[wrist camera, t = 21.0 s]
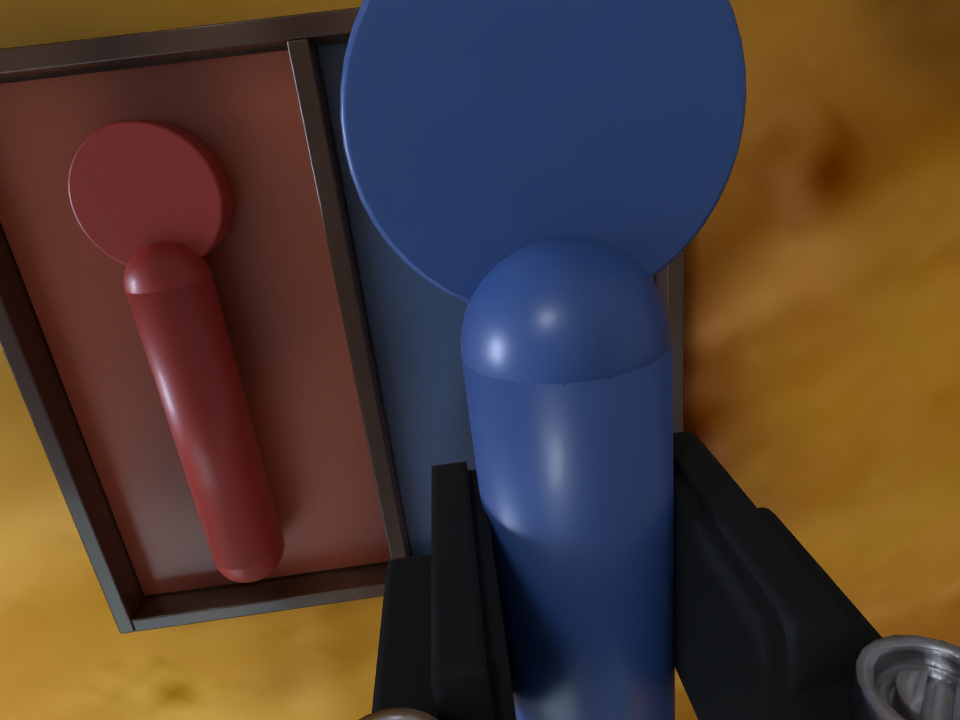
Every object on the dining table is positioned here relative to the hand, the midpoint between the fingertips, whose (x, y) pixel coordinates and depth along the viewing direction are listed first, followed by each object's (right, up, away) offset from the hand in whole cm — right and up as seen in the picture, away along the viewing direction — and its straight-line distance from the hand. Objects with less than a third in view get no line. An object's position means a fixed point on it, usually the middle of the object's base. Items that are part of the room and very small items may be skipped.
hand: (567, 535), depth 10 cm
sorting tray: (-6, +4, +13) cm, 14 cm away
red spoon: (-11, +3, +12) cm, 16 cm away
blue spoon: (0, 0, 0) cm, 0 cm away
